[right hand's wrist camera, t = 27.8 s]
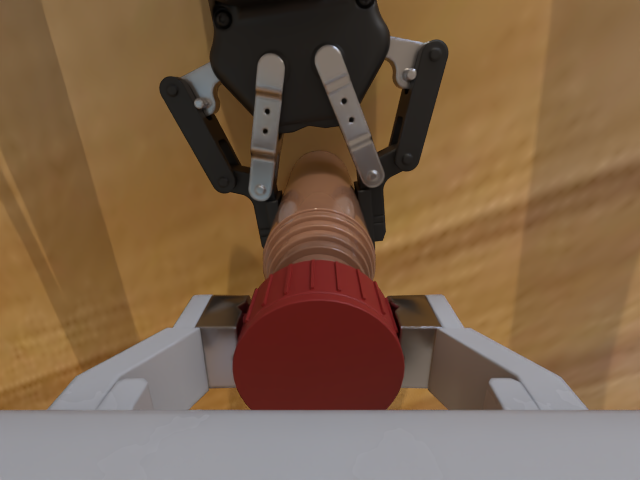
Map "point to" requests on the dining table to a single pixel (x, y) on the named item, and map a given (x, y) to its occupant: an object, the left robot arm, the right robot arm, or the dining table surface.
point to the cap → (318, 342)
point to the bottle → (319, 219)
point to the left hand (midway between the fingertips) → (325, 250)
